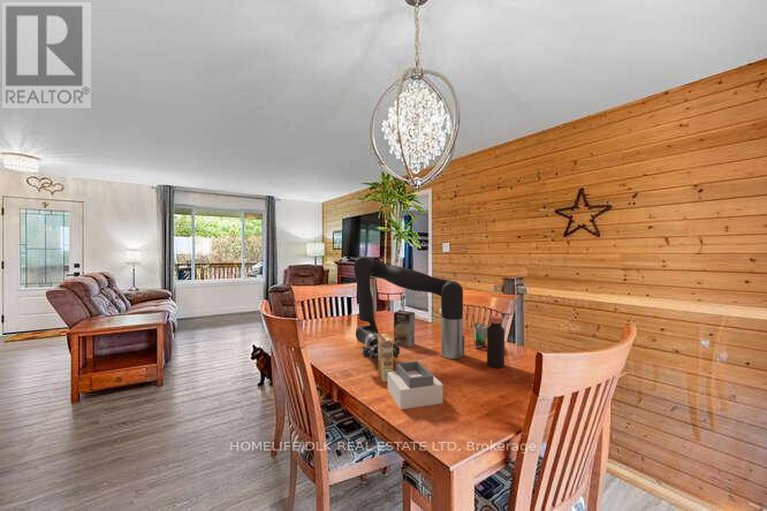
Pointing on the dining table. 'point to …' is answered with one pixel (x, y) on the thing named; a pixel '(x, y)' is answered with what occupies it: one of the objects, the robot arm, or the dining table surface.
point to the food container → (480, 335)
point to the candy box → (385, 356)
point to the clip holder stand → (414, 386)
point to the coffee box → (404, 328)
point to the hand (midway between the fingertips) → (385, 356)
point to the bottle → (495, 343)
